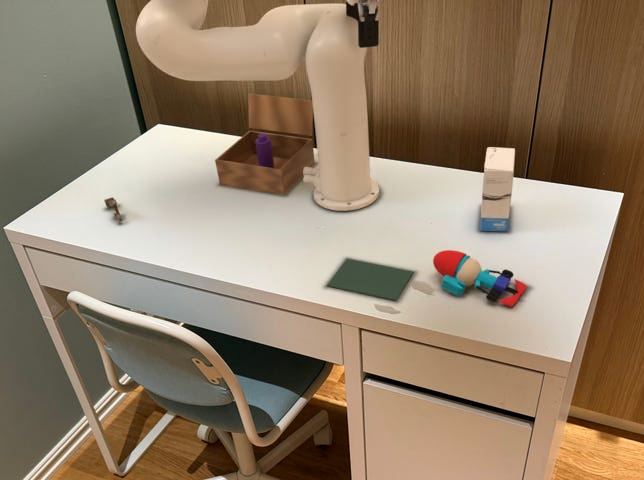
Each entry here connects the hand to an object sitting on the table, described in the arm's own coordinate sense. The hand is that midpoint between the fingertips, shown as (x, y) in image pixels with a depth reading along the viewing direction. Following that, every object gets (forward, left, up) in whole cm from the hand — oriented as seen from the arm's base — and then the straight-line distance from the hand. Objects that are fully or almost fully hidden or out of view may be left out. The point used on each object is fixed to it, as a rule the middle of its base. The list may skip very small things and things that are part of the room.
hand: (362, 36), depth 117 cm
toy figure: (+27, -21, -29) cm, 45 cm away
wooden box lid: (-23, +9, -20) cm, 32 cm away
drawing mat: (+11, -25, -29) cm, 40 cm away
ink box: (+25, -1, -29) cm, 38 cm away
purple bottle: (-23, +2, -29) cm, 37 cm away
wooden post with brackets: (-44, -21, -29) cm, 57 cm away
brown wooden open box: (-23, +2, -29) cm, 37 cm away
